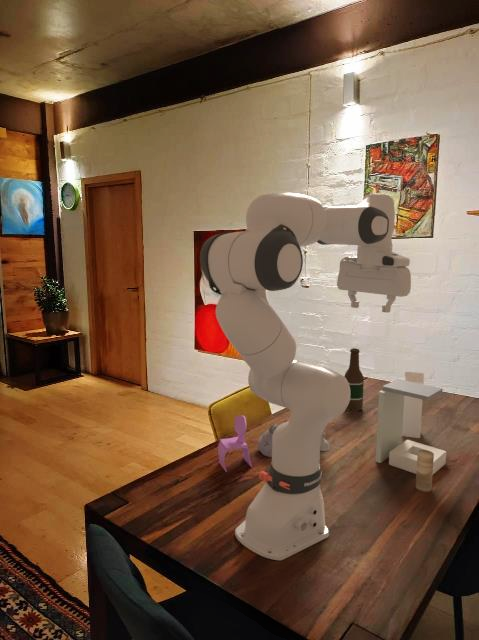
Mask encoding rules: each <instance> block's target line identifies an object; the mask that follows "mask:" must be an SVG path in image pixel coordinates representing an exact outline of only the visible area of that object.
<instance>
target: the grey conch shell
mask: <svg viewBox="0 0 479 640" xmlns="http://www.w3.org/2000/svg"><path fill="white" fill-rule="evenodd" d="M277 427H278V426H277V424H276V423H273V424H271V425H270V426H269V428H268V429H267V430H265V431H264V433H262V434H260V436H259V437H258V442H257V449H258V451H259V452H260V453H262V455H263V456H265V457H268V458H272V435H273V433H274V431H275V430H276V428H277Z"/></svg>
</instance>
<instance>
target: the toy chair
mask: <svg viewBox="0 0 479 640" xmlns="http://www.w3.org/2000/svg"><path fill="white" fill-rule="evenodd" d="M233 428H234V431H235V432H236V434H237V436H235V437H229V438H222V439H220V438H219V442H218V445H217V446H218V447H217V451H218V452H217V454H218V455H217V456H218V462H219V465H220V466H221V467H222V469H223V470H224V471H225V473H228V470H227V468H226V464H225V458H226V454H227V453H228V452H230V451H234V450H241V449H242V454H243V459H244V461H245V462H246V463H247V464H248V465H249V467H251V468H253V465H252V464H253V463H252V462H251V459H250V449H249V448H248V444H247V443H246V442H245V438H246V437H245V436H246V434H247V433H246V432H247V419H246V416H245V415H242V414H239V415H237V416H235V418H234V427H233Z"/></svg>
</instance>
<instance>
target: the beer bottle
mask: <svg viewBox="0 0 479 640" xmlns="http://www.w3.org/2000/svg"><path fill="white" fill-rule="evenodd" d="M349 352H350V356H349V365H348V369H347V370H346V371H345V374H344V375H343V376H344V377H345V378H346V379H347V381H348V383H349V386H350V393H351V395H350V401H349V404H348V406H347V408H346V410H348V411H354V412H355V411H356V412H357V411H360V410H363V406H364V405H363V404H364V384H365V383H364V376H363V373H362V371H361V369H360V349H359V348H350V350H349Z"/></svg>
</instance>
